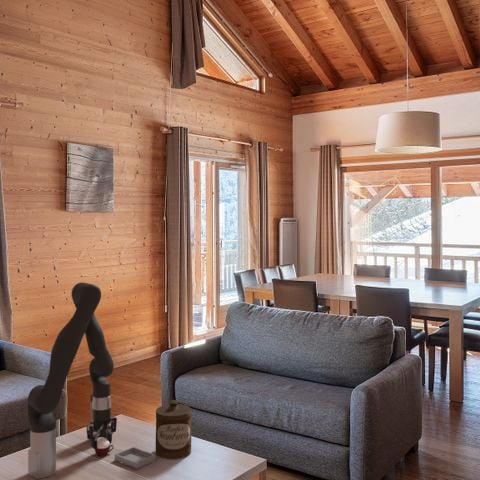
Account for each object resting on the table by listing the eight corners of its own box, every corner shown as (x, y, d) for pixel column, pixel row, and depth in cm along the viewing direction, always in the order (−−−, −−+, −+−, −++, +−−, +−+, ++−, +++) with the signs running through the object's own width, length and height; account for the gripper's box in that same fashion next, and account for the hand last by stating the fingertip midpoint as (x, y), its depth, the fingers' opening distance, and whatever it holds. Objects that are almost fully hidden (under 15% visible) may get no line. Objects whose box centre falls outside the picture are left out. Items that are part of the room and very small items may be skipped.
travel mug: (110, 436, 254) (110, 392, 254) (104, 443, 247) (104, 397, 246) (93, 435, 255) (93, 391, 254) (87, 442, 248) (87, 397, 247)
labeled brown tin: (156, 461, 230) (156, 407, 229) (154, 446, 244) (154, 395, 243) (193, 458, 233) (193, 405, 232) (189, 444, 247) (189, 393, 246)
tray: (136, 469, 222) (136, 463, 222) (114, 460, 230) (114, 454, 230) (155, 461, 230) (155, 454, 230) (133, 452, 238) (133, 446, 238)
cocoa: (114, 452, 238) (115, 424, 238) (109, 458, 232) (111, 429, 232) (92, 450, 239) (93, 422, 239) (86, 456, 233) (88, 426, 233)
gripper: (93, 413, 227) (93, 454, 228) (121, 403, 238) (121, 442, 239) (81, 409, 232) (81, 449, 233) (109, 400, 243) (110, 438, 244)
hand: (102, 445), depth 236 cm, fingers closed on cocoa, 6 cm apart
